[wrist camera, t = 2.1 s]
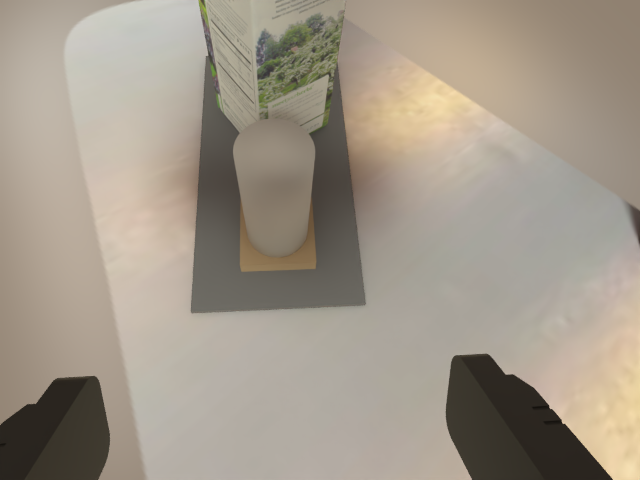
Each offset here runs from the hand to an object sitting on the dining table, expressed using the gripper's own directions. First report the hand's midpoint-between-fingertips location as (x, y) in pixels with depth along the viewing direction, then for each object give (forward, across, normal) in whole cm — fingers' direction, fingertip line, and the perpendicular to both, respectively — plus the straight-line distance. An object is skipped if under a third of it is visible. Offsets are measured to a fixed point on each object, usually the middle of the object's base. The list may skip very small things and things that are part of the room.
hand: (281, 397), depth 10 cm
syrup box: (+24, 0, -4) cm, 25 cm away
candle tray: (+22, 0, -2) cm, 22 cm away
